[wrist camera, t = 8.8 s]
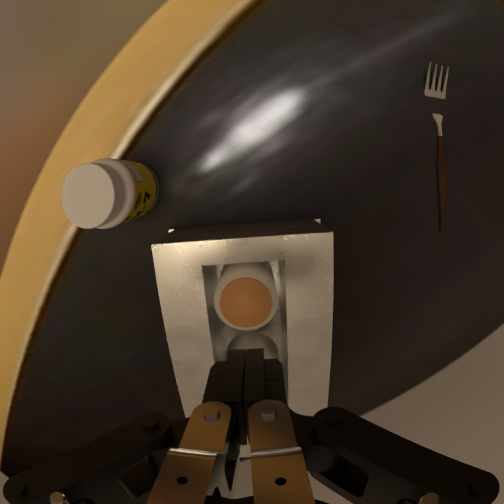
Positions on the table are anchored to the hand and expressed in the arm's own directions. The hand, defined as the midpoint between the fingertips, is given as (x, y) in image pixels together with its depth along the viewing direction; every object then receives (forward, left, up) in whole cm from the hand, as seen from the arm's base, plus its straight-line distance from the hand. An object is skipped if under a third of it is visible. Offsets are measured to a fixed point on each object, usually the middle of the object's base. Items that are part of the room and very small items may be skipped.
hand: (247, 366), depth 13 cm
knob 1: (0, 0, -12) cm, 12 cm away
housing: (0, +5, -14) cm, 15 cm away
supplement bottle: (+9, -8, -14) cm, 18 cm away
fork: (-18, -10, -14) cm, 25 cm away
